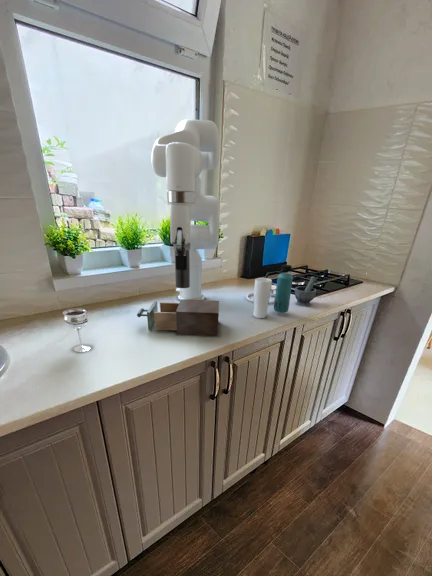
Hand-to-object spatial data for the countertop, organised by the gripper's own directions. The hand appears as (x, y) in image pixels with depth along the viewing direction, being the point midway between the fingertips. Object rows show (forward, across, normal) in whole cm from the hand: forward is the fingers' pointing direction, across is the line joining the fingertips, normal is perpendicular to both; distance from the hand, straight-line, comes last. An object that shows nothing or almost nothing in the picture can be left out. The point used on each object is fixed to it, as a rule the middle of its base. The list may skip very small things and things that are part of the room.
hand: (182, 267), depth 98 cm
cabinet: (+24, -12, +4) cm, 27 cm away
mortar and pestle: (+24, -48, +52) cm, 75 cm away
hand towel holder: (+24, -54, +34) cm, 69 cm away
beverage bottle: (+24, -32, +38) cm, 55 cm away
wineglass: (+24, +10, -31) cm, 41 cm away
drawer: (+23, -12, -9) cm, 27 cm away
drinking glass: (+24, -28, +29) cm, 47 cm away
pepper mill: (+6, 0, 0) cm, 6 cm away
